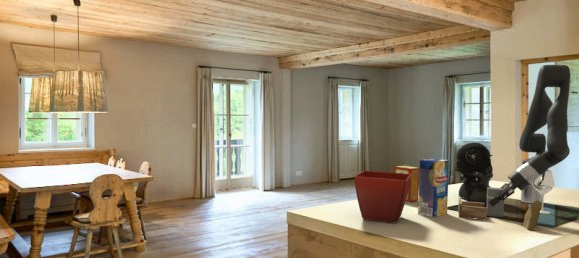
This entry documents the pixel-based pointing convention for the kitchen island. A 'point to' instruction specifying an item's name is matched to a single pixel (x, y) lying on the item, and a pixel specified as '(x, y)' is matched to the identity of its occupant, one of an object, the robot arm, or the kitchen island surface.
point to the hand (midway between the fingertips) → (490, 203)
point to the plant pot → (381, 195)
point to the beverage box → (433, 187)
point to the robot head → (474, 172)
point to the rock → (532, 215)
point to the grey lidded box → (499, 207)
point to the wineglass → (544, 186)
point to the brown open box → (472, 209)
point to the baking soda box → (414, 181)
